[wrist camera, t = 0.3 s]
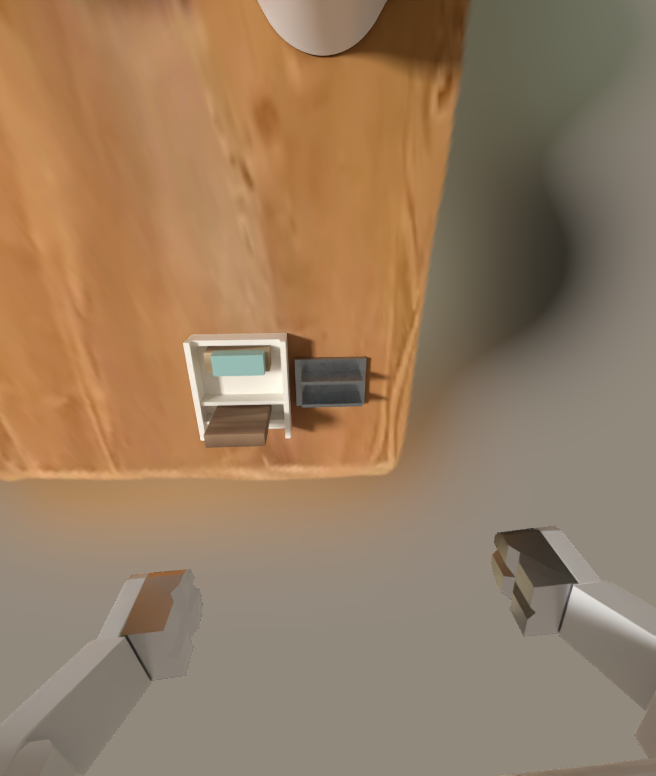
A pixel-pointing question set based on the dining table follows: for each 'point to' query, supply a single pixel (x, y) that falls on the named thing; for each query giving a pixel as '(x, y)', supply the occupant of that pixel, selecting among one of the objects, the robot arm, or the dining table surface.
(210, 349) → the oak offcut
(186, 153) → the dining table surface
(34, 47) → the dining table surface
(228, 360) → the teal offcut
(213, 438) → the walnut board
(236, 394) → the rack
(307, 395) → the stand
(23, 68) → the dining table surface
